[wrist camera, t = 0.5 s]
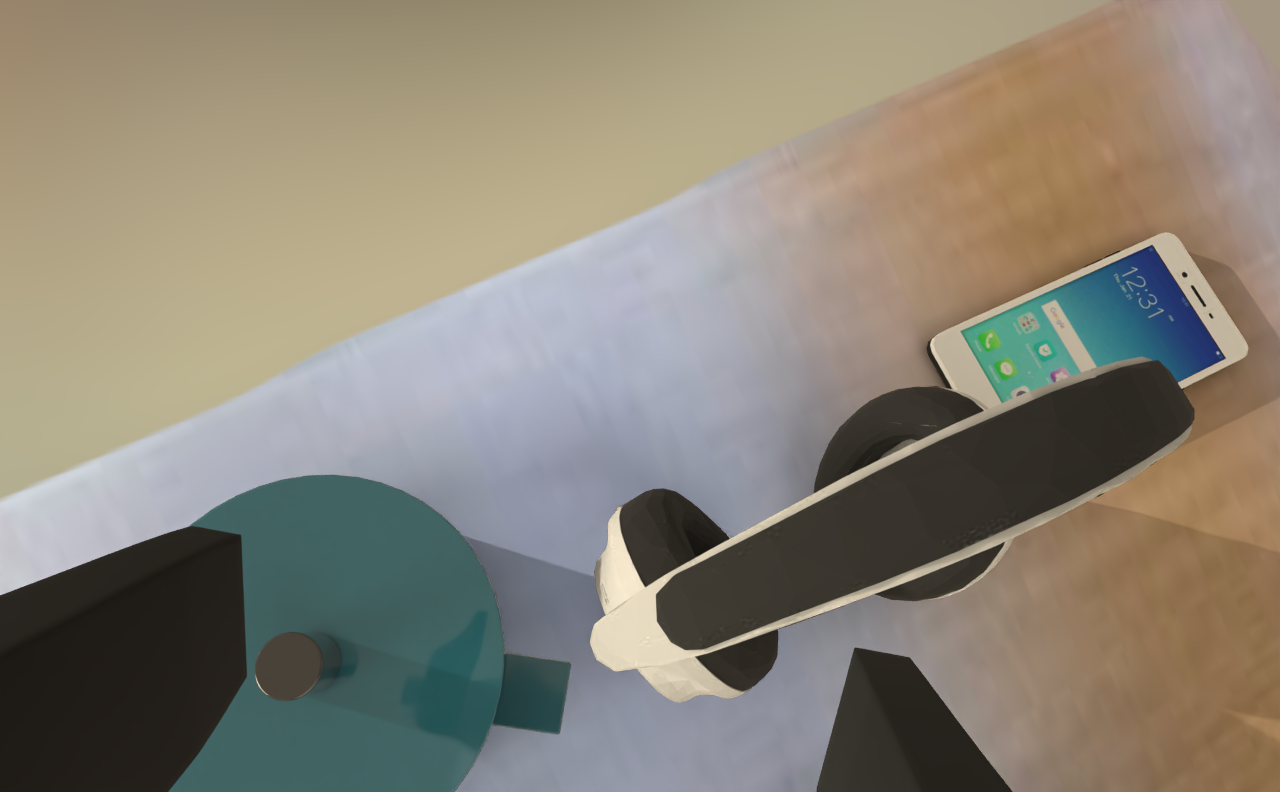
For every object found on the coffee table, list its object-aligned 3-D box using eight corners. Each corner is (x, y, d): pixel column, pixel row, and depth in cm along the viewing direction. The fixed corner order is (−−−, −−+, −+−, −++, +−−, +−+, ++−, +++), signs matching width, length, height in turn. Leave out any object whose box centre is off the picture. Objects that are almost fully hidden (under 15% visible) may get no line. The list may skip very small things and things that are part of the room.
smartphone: (925, 336, 40) (1172, 225, 43) (918, 342, 41) (1160, 233, 44) (1006, 478, 38) (1256, 353, 41) (997, 481, 39) (1242, 359, 42)
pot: (538, 842, 33) (535, 889, 27) (97, 781, 32) (-9, 816, 26) (586, 548, 37) (593, 531, 30) (187, 484, 36) (111, 453, 29)
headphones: (619, 740, 35) (705, 874, 15) (541, 549, 36) (532, 456, 17) (1005, 552, 38) (1460, 471, 19) (918, 388, 40) (1255, 163, 21)
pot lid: (465, 892, 27) (453, 929, 24) (69, 838, 27) (-2, 869, 23) (535, 509, 31) (533, 494, 28) (187, 453, 30) (140, 430, 27)
